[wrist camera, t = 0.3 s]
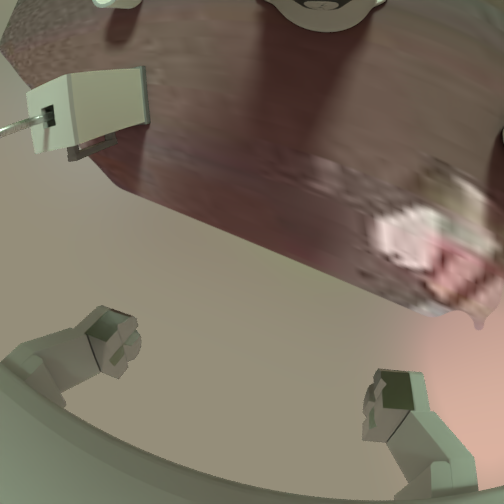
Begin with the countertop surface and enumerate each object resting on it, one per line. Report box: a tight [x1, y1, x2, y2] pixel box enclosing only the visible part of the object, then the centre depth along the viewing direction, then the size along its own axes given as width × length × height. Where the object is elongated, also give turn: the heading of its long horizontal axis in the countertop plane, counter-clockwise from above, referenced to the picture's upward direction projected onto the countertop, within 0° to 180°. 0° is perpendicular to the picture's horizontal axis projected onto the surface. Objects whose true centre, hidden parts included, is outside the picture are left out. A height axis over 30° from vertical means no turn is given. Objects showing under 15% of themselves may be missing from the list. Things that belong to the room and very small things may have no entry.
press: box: [26, 66, 150, 162], centre depth 38 cm, size 13×10×18 cm
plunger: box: [0, 111, 55, 138], centre depth 27 cm, size 7×7×20 cm
